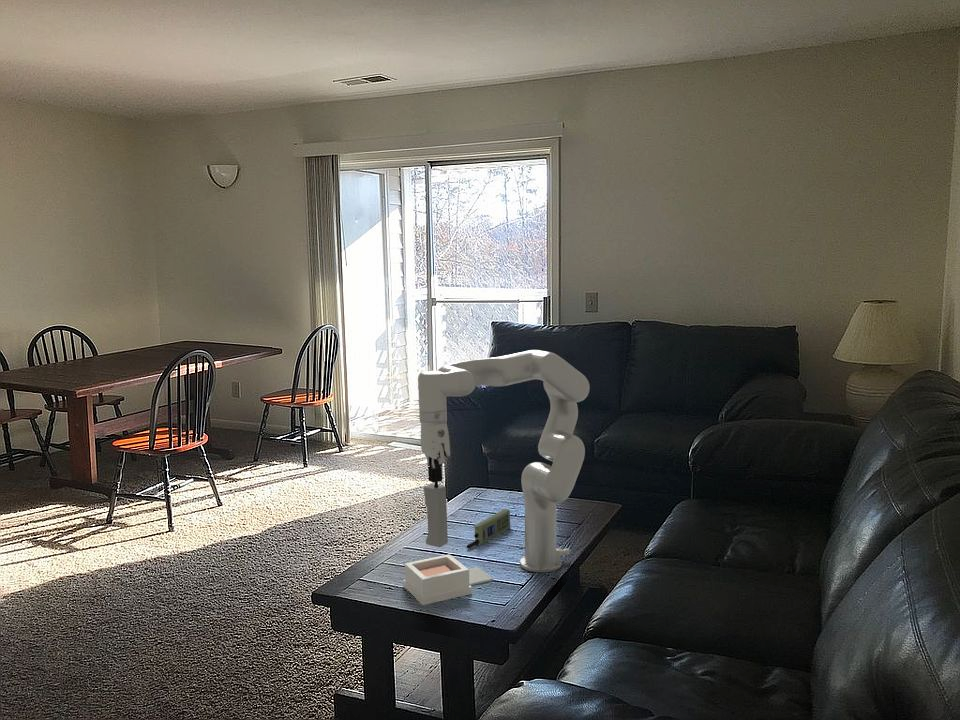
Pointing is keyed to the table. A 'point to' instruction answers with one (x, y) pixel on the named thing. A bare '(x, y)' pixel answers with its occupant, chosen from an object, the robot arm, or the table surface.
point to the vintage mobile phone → (436, 514)
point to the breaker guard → (437, 580)
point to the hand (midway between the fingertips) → (435, 480)
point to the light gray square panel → (478, 576)
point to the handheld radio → (491, 527)
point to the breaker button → (435, 570)
